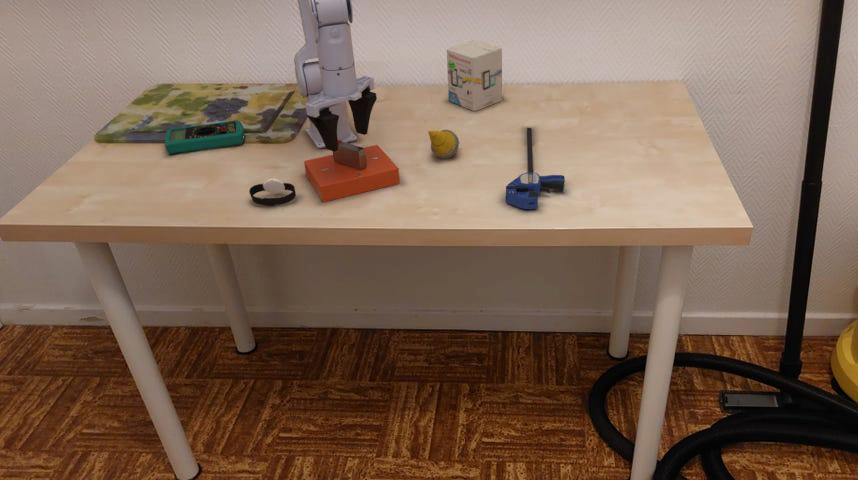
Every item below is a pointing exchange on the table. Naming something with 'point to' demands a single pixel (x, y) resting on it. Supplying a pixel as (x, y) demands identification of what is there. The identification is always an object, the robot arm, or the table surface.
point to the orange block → (351, 175)
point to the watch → (273, 192)
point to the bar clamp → (531, 183)
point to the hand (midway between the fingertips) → (347, 141)
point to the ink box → (474, 75)
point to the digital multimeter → (204, 137)
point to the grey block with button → (350, 155)
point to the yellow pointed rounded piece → (443, 143)
